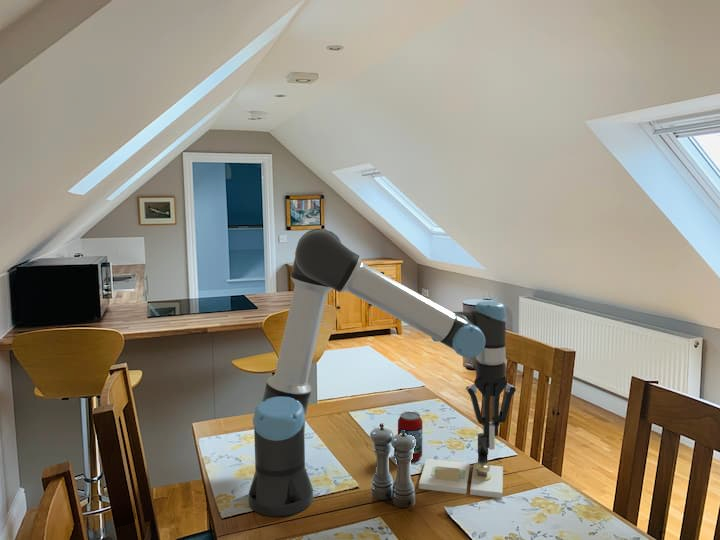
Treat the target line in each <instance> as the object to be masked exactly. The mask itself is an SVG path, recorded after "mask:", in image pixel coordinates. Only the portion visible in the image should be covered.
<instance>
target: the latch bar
mask: <svg viewBox="0 0 720 540" xmlns="http://www.w3.org/2000/svg"><path fill="white" fill-rule="evenodd" d="M488 441H489V436H487V437H485V435H484V433H483V432H480V433H478V434H477V454H478V456H477V462H476V463H474V464H475V470H476V471H477V476H485V477H487V472H489V471H490V465H491V464H489V463H488V455H489V448H488Z"/></svg>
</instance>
